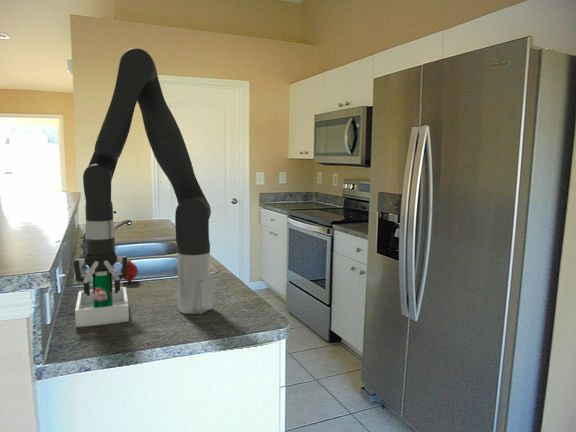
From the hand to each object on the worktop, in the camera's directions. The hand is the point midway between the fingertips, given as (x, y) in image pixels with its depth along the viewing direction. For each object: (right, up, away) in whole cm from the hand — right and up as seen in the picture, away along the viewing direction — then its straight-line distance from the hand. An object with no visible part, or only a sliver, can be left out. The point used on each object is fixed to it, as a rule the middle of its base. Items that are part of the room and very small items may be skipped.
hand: (102, 293), depth 126 cm
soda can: (0, -5, +1) cm, 5 cm away
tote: (0, -6, +1) cm, 6 cm away
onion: (-4, -2, +33) cm, 33 cm away
